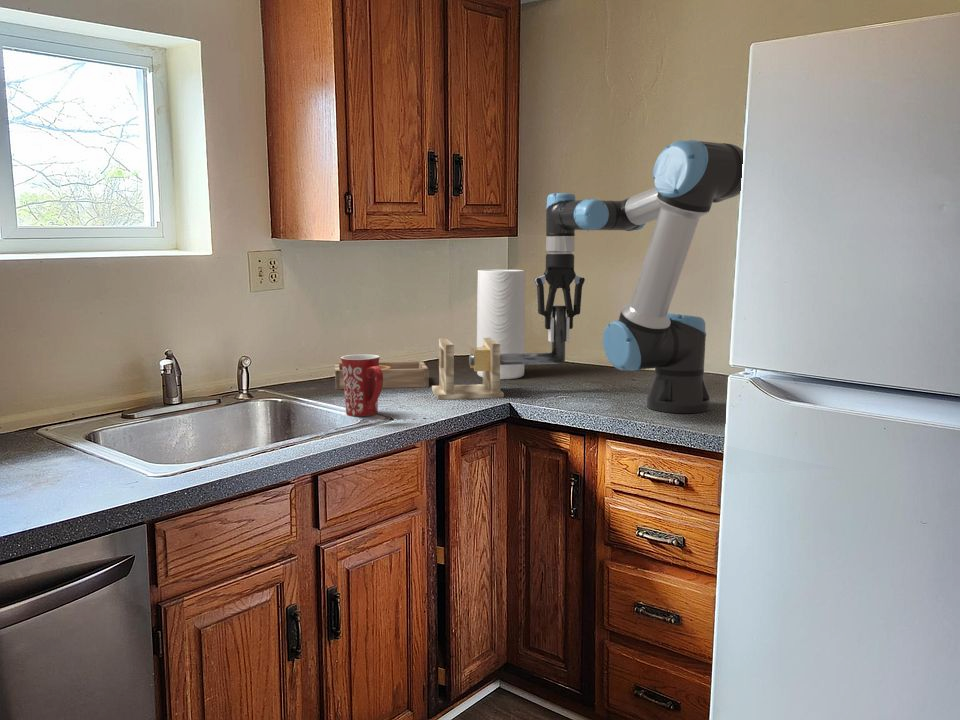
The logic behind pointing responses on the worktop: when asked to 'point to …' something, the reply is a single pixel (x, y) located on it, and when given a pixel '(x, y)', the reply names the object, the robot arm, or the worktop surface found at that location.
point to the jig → (484, 390)
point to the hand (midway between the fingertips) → (558, 341)
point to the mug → (362, 384)
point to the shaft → (541, 358)
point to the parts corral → (395, 375)
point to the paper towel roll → (502, 314)
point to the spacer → (480, 358)
